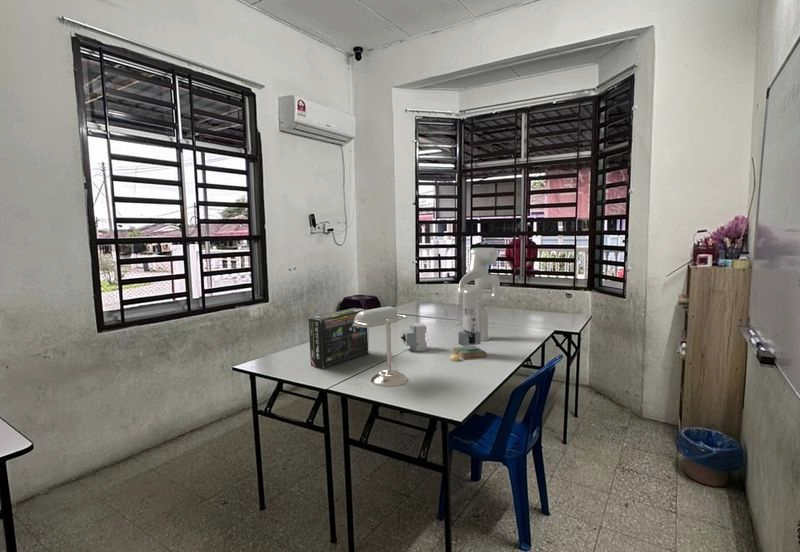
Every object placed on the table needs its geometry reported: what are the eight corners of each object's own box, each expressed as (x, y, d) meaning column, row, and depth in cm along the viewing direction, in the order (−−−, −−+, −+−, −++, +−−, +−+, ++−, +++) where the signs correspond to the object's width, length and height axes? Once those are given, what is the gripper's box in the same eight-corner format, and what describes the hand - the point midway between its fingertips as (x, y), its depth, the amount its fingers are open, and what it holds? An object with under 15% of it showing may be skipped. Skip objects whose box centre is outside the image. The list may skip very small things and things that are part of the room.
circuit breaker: (400, 349, 253) (399, 324, 252) (422, 346, 258) (421, 323, 256) (404, 352, 246) (403, 327, 244) (426, 350, 250) (426, 325, 249)
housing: (474, 341, 244) (474, 329, 243) (480, 344, 238) (480, 332, 238) (458, 343, 239) (458, 331, 239) (464, 346, 234) (464, 334, 233)
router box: (356, 350, 251) (354, 307, 248) (369, 353, 244) (368, 308, 241) (308, 365, 224) (306, 316, 221) (322, 370, 217) (320, 319, 214)
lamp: (389, 366, 221) (388, 303, 218) (421, 377, 203) (421, 309, 200) (348, 378, 203) (346, 310, 200) (380, 392, 186) (378, 317, 182)
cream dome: (448, 359, 232) (448, 355, 232) (457, 358, 234) (457, 354, 233) (452, 362, 227) (452, 357, 227) (460, 361, 229) (460, 356, 229)
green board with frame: (453, 352, 244) (453, 347, 244) (474, 350, 248) (474, 345, 248) (463, 359, 231) (463, 354, 231) (486, 356, 235) (486, 351, 235)
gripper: (483, 313, 230) (482, 345, 232) (468, 308, 246) (468, 338, 248) (470, 314, 228) (470, 346, 229) (457, 309, 244) (457, 339, 246)
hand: (469, 341), depth 239 cm, fingers closed on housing, 6 cm apart
